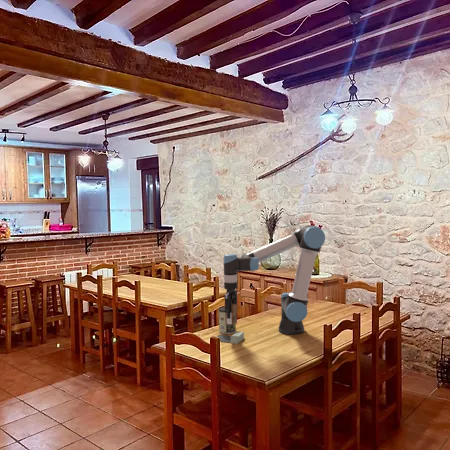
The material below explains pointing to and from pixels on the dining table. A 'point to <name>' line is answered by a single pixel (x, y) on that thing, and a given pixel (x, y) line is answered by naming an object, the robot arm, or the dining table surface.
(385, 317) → the dining table surface
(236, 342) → the sage ledge
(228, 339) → the rubber mat
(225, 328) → the coffee can
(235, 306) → the walnut block
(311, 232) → the robot arm
